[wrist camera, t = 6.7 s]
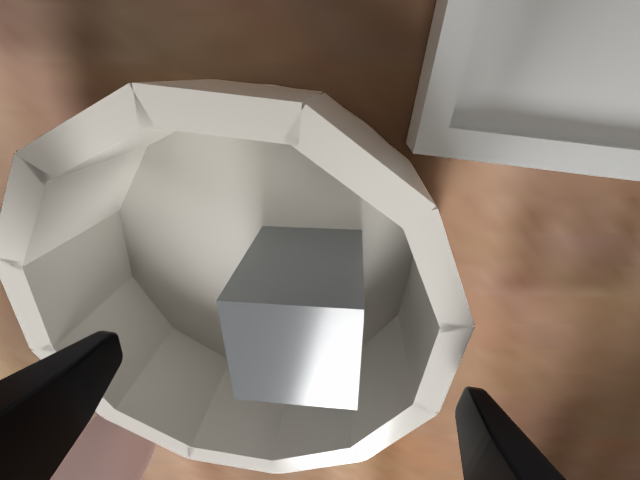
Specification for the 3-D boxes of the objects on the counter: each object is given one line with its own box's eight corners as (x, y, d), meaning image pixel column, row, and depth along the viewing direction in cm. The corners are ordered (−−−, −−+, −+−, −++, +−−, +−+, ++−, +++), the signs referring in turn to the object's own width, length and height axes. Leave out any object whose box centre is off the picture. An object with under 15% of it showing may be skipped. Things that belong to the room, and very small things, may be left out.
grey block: (357, 310, 13) (357, 410, 9) (269, 305, 14) (234, 399, 10) (362, 229, 12) (364, 309, 8) (262, 225, 12) (216, 300, 8)
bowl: (472, 107, 10) (556, 132, 6) (391, 383, 16) (404, 495, 12) (84, 62, 11) (-95, 56, 6) (142, 344, 17) (68, 438, 12)
